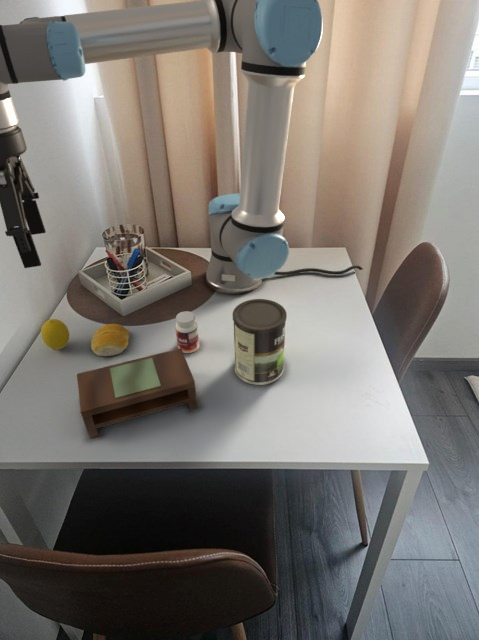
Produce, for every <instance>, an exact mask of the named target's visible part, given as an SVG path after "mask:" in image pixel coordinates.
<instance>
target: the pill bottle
mask: <svg viewBox="0 0 479 640" xmlns="http://www.w3.org/2000/svg"><path fill="white" fill-rule="evenodd" d="M175 322H176V323H175V326H174V327H175V328H174V329H175V335H176V343H177V349H180V348H181V349H182V351H183V354H192V353H194V352H196V351H198V350H199V347H200V340H199V339H200V337H199V325H198V322H197V321H196V316H195V313H193V311H192V312H191V311H189V310H186V311H180V312H179V313H177V314H176V316H175Z"/></svg>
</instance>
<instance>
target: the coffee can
mask: <svg viewBox="0 0 479 640" xmlns="http://www.w3.org/2000/svg"><path fill="white" fill-rule="evenodd" d="M232 321H233V345H234V372H235V374H236V376H237V377H238V378H239V379H240V380H241V381H243V382H245V383H247V384H249V385H254V386H265V385H269V384H272V383H275V382H276V381H277V380H279V379H280V378H281V377H282V375H283V373H284V369H285V367H284V361H285V360H284V359H285V341H286V324H287V323H286V321H287V310H286V309H285V307H284V306H283V305H282V304H280V303H278V302H276V301H274V300H271V299H265V298H253V299H248V300H245V301H243V302H240V303H239V304H238V305H237V306H236V307H235V308H234V309H233V311H232Z"/></svg>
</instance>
